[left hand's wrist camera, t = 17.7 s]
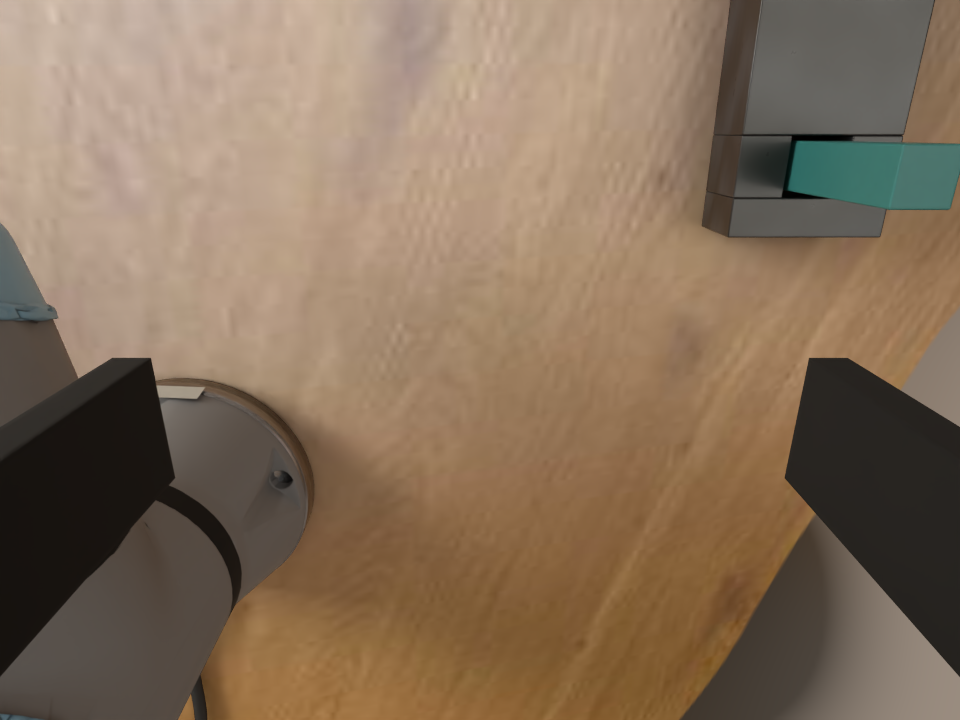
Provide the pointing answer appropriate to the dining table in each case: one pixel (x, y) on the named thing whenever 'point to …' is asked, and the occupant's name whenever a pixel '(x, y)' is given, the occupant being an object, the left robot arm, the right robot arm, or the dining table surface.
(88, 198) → the dining table surface
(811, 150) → the peg
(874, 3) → the peg board
